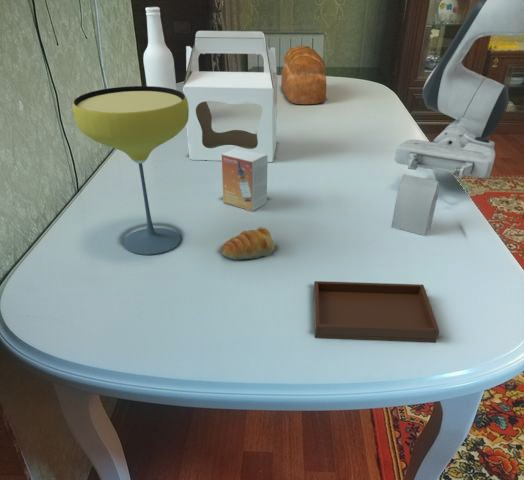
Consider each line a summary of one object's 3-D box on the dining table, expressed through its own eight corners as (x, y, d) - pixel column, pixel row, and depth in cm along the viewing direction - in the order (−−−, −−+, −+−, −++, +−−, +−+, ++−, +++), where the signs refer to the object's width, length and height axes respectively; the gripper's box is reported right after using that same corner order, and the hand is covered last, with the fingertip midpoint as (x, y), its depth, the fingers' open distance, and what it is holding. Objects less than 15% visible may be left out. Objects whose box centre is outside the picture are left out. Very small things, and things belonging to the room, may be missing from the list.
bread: (315, 87, 196) (317, 41, 186) (327, 104, 176) (331, 53, 166) (279, 88, 195) (280, 42, 185) (288, 105, 175) (289, 54, 165)
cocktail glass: (216, 248, 94) (206, 102, 78) (123, 275, 86) (91, 119, 71) (175, 213, 106) (160, 81, 90) (90, 234, 98) (57, 94, 83)
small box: (222, 203, 110) (220, 154, 103) (238, 195, 114) (236, 146, 107) (252, 212, 106) (252, 161, 100) (267, 203, 110) (268, 153, 103)
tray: (420, 295, 81) (423, 284, 80) (436, 342, 72) (439, 330, 71) (313, 292, 82) (314, 280, 81) (314, 337, 73) (315, 326, 71)
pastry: (232, 266, 89) (231, 247, 86) (215, 251, 93) (214, 232, 91) (277, 253, 92) (278, 234, 90) (259, 239, 97) (259, 220, 94)
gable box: (188, 160, 132) (176, 34, 114) (198, 144, 142) (188, 26, 124) (273, 162, 130) (275, 35, 112) (277, 146, 140) (279, 27, 123)
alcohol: (157, 127, 155) (142, 9, 136) (147, 120, 161) (132, 6, 142) (183, 123, 158) (173, 8, 139) (173, 116, 164) (161, 5, 145)
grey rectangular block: (424, 235, 98) (435, 184, 92) (391, 227, 101) (399, 177, 94) (430, 228, 100) (441, 178, 94) (398, 220, 103) (406, 171, 97)
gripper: (408, 128, 115) (388, 145, 105) (502, 142, 107) (490, 162, 97) (403, 157, 119) (383, 175, 109) (494, 172, 111) (481, 194, 101)
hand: (434, 169), depth 103 cm, fingers open, 8 cm apart
